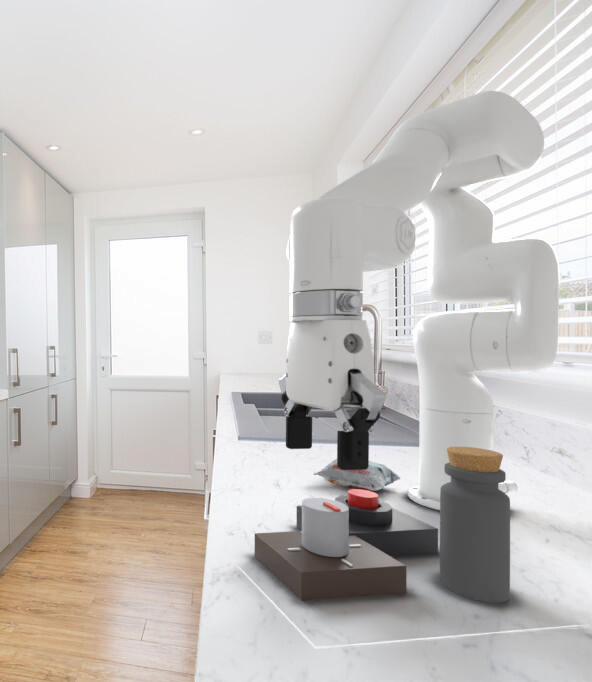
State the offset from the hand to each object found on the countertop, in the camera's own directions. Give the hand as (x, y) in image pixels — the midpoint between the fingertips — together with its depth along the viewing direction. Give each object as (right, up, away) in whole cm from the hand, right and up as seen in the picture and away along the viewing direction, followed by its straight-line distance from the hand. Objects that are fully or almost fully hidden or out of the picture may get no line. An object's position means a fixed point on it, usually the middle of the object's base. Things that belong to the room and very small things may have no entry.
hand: (323, 457), depth 55 cm
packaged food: (+22, -14, +32) cm, 41 cm away
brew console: (0, -14, 0) cm, 14 cm away
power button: (+10, -9, +9) cm, 16 cm away
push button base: (+10, -13, +9) cm, 19 cm away
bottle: (+15, -14, -3) cm, 20 cm away
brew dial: (0, -10, 0) cm, 10 cm away
